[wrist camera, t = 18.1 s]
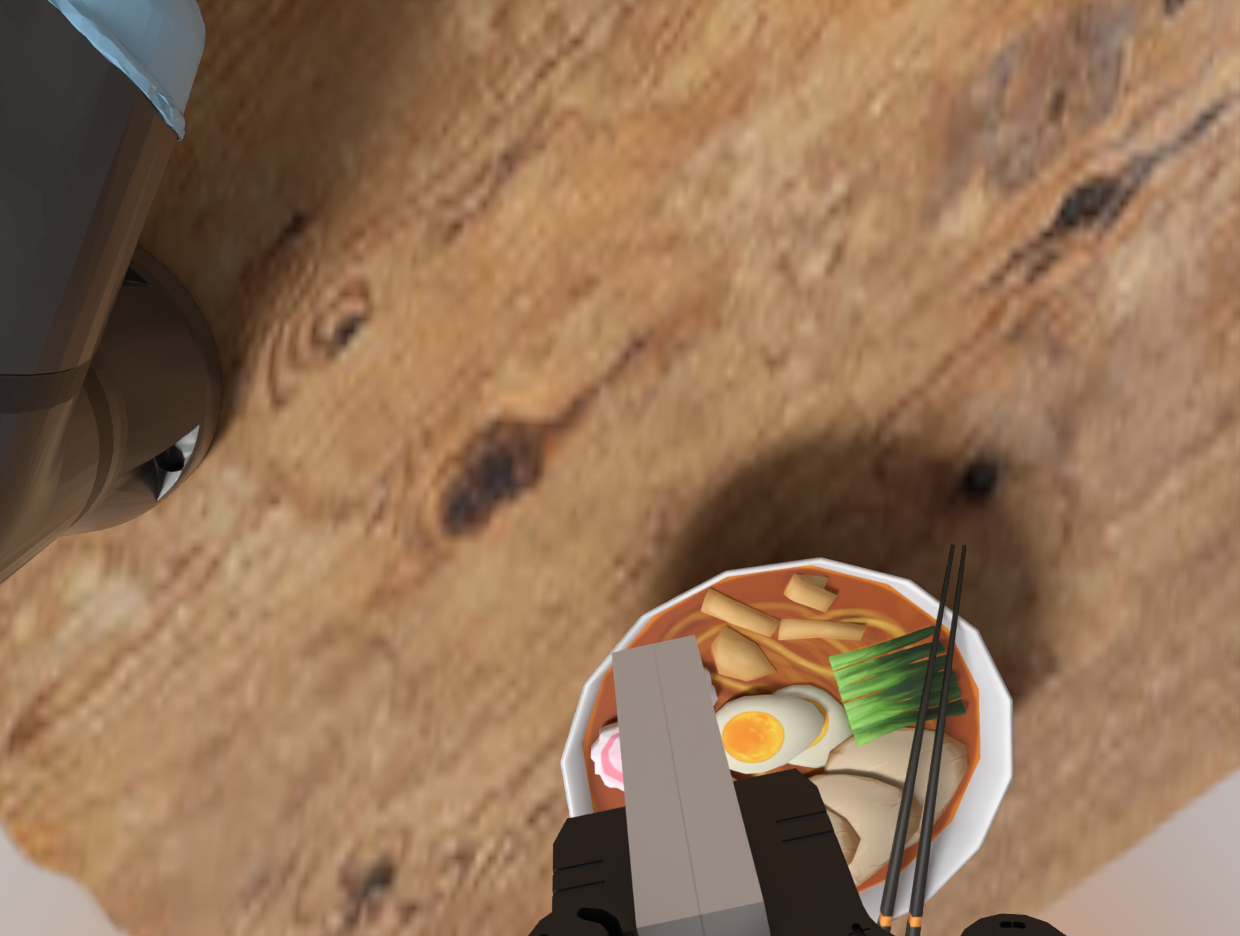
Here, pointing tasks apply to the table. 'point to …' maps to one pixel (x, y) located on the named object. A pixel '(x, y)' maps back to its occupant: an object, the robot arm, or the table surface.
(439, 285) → the table surface
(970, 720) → the ramen bowl
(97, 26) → the robot arm
